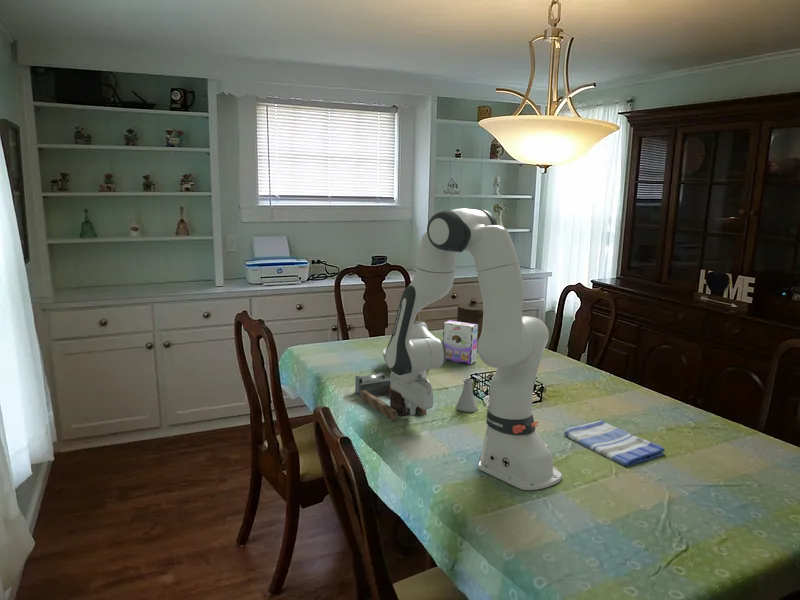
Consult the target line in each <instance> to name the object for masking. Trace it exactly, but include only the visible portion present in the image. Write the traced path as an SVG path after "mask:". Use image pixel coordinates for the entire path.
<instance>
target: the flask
mask: <svg viewBox="0 0 800 600" xmlns="http://www.w3.org/2000/svg"><path fill="white" fill-rule="evenodd" d="M462 381H463V387H462V391H461V393H460V397H459V398H458V400H457V403H456V406H455V408H456V409H457V411H460V412H464V413H472V412H474V413H475V412H476V411H477V410H478V405H477V402H476V399H475V396H474V392H473V383H474V380H473V379H472V378H463V380H462Z"/></svg>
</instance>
